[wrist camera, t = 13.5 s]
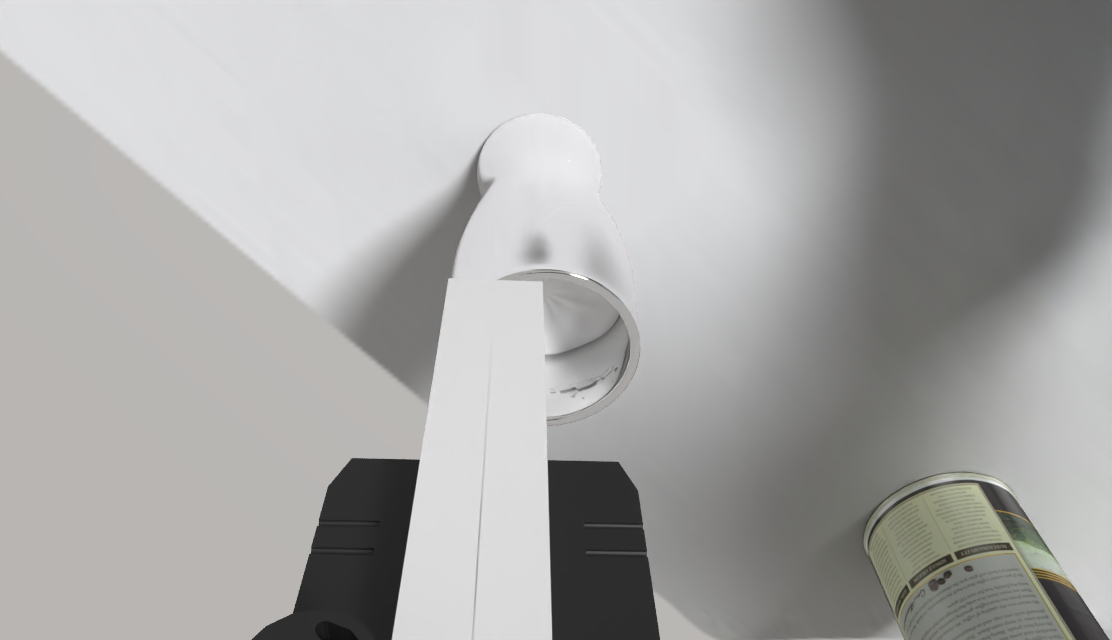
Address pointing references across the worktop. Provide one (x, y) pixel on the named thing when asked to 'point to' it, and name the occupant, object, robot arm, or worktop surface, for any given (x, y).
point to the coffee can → (971, 565)
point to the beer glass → (557, 257)
